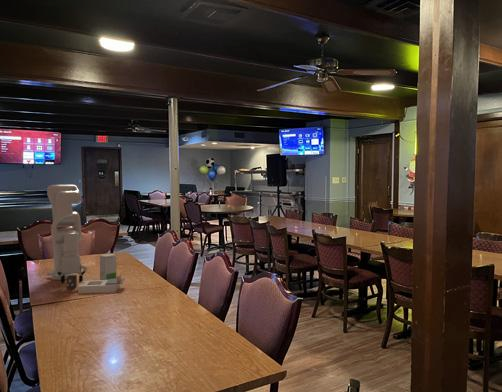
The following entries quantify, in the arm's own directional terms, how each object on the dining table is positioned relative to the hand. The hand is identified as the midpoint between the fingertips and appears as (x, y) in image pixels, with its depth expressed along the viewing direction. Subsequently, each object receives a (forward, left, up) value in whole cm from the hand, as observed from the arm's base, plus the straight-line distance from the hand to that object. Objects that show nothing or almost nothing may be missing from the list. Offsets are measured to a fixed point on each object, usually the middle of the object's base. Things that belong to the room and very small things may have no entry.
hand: (71, 282), depth 225 cm
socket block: (+17, -6, -3) cm, 18 cm away
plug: (0, 0, -3) cm, 3 cm away
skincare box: (+17, +17, -3) cm, 24 cm away
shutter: (+26, -6, +1) cm, 26 cm away
